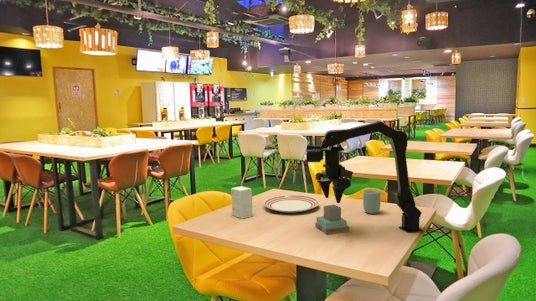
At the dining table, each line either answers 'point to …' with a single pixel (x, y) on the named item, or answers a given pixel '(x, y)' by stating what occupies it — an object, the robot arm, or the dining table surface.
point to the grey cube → (332, 213)
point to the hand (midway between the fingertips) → (332, 200)
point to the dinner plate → (291, 203)
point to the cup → (371, 201)
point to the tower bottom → (332, 231)
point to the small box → (241, 202)
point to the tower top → (331, 223)
